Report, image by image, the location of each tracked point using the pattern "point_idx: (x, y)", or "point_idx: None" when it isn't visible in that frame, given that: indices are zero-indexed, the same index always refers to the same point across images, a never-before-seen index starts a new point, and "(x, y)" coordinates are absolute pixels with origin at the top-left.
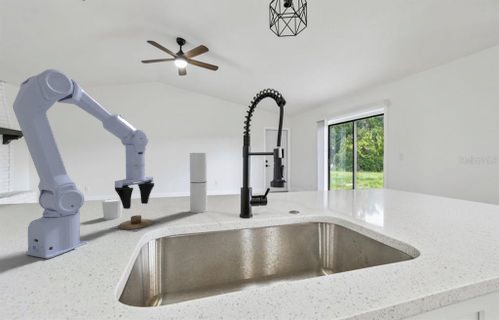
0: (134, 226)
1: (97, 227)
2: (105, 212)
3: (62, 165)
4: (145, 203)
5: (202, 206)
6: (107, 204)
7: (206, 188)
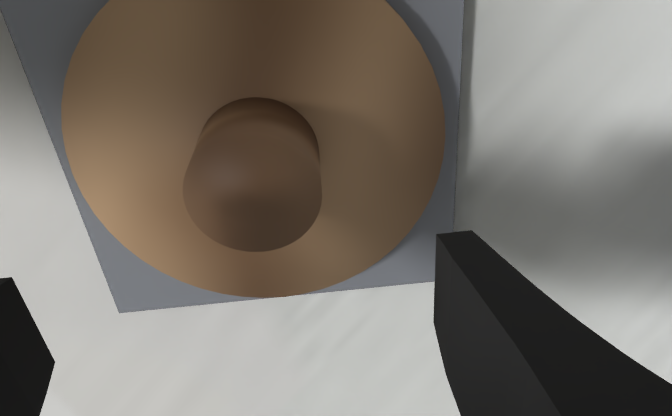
0: (376, 49)
1: (426, 388)
2: None
3: None
4: (15, 298)
5: None
6: None
7: None
